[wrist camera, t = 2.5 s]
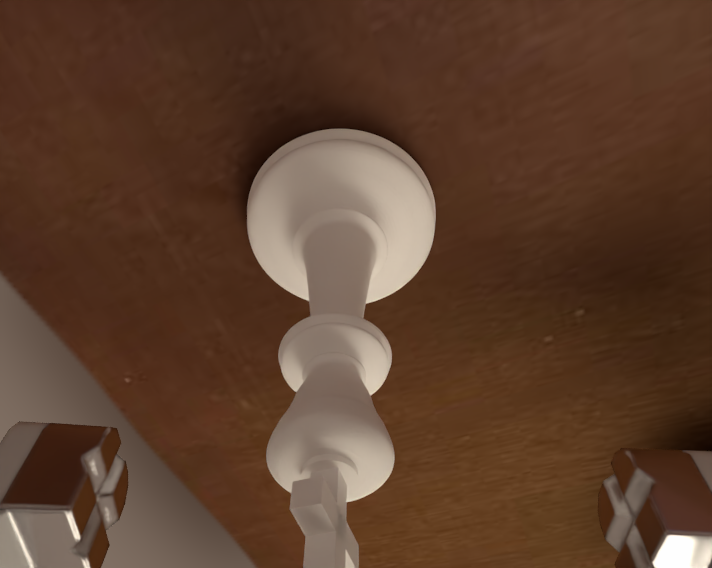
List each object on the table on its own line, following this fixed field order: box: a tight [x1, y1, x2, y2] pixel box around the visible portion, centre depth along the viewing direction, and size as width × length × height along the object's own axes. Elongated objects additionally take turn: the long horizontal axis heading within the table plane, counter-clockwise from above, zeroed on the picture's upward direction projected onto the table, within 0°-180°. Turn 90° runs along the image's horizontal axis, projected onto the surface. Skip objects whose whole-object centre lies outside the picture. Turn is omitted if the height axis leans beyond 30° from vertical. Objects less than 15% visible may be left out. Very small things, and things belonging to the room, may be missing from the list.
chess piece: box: [247, 129, 436, 568], centre depth 12 cm, size 5×5×10 cm
